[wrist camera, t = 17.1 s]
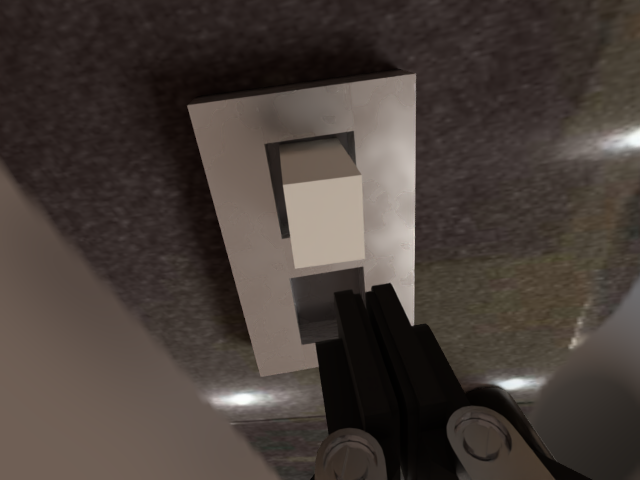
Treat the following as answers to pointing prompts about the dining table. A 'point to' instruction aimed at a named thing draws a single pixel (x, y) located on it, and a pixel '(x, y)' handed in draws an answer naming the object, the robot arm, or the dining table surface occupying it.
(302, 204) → the plug
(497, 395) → the supplement bottle
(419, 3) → the dining table surface
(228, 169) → the socket board
